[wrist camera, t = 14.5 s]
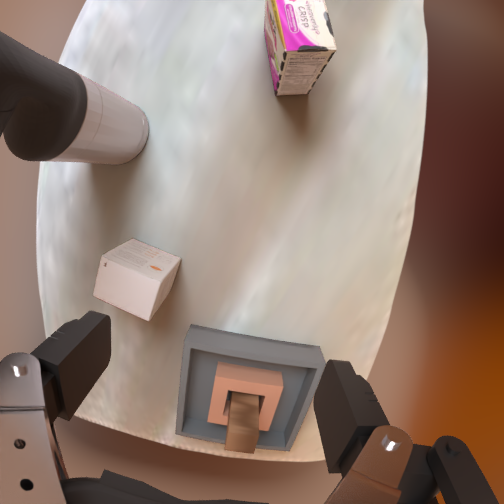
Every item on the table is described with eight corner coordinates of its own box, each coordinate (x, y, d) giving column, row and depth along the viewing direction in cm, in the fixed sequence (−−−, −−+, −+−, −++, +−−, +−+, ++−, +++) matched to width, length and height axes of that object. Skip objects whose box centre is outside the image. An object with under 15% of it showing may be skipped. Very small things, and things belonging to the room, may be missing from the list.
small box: (123, 271, 43) (90, 296, 33) (132, 236, 42) (99, 254, 32) (171, 292, 44) (148, 323, 34) (182, 257, 43) (161, 282, 32)
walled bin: (180, 415, 50) (175, 434, 45) (191, 324, 45) (184, 340, 40) (287, 432, 50) (289, 451, 45) (319, 346, 46) (325, 363, 41)
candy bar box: (261, 30, 35) (264, -37, 19) (296, 28, 35) (315, -38, 19) (272, 98, 38) (284, 51, 22) (309, 95, 37) (340, 50, 21)
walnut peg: (230, 397, 47) (224, 449, 35) (233, 379, 46) (228, 432, 34) (253, 401, 47) (253, 453, 36) (258, 383, 46) (259, 436, 35)
